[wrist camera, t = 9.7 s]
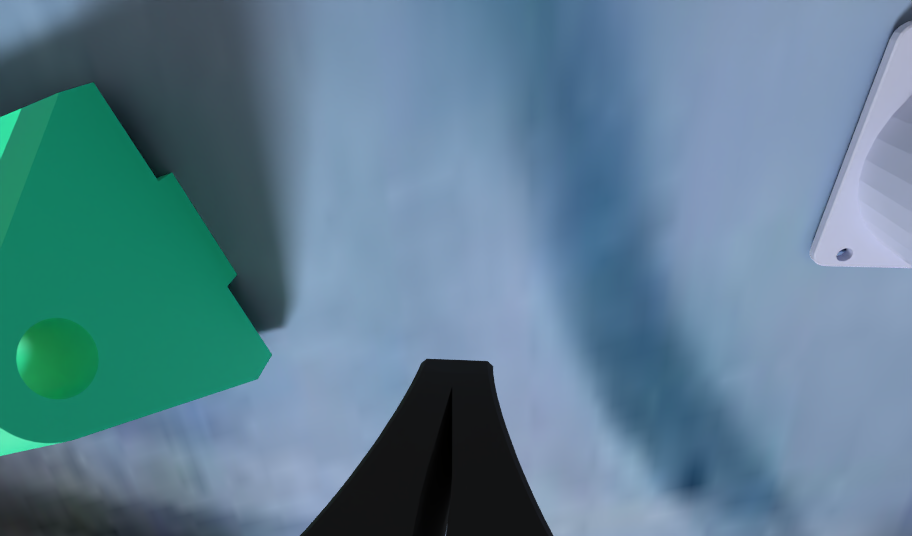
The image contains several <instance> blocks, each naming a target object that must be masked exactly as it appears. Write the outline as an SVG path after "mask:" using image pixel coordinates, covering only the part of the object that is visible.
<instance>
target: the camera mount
mask: <svg viewBox="0 0 912 536" xmlns="http://www.w3.org/2000/svg"><path fill="white" fill-rule="evenodd" d="M236 276H237V274H236V272H235V270H234V269H233V267H232V266H231V264H230V263H229V261H228V259H227V258H226V256H225V255H224V253H223V252H222V250H221V248H220V247H219V245H218V244H217V242H216V241H215V239H214V237H213V236H212V234H211V233H210V231H209V230H208V228H207V226H206V225H205V223H204V222H203V220H202V219H201V217H200V215H199V214H198V212H197V211H196V209H195V208H194V206H193V204H192V203H191V201H190V200H189V198H188V197H187V195H186V193H185V192H184V190H183V189H182V187H181V186H180V184H179V182H178V181H177V179H176V178H175V176H174V175H173V173H169V174H166V175H164V176H161V177H158V178H156V177H155V175H154V174H153V172H152V171H151V169H150V168H149V166H148V165H147V163H146V162H145V160H144V159H143V157H142V156H141V154H140V152H139V151H138V149H137V148H136V146H135V145H134V143H133V142H132V140H131V139H130V137H129V136H128V134H127V133H126V131H125V130H124V128H123V127H122V125H121V123H120V122H119V120H118V119H117V117H116V116H115V114H114V113H113V111H112V110H111V108H110V107H109V105H108V104H107V102H106V101H105V99H104V98H103V96H102V94H101V93H100V91H99V90H98V88H97V87H96V85H95V84H94V82H93V83H89V84H86V85H82V86H79V87H76V88H72V89H69V90H65V91H62V92H59V93H56V94H54V95H52V96H49V97H47V98H45V99H42V100H40V101H37V102H35V103H33V104H30V105H28V106H26V107H23V108H21V109H19V110H16V111H14V112H11V113H9V114H7V115H4V116H2V117H0V456H2V455H7V454H11V453H16V452H20V451H25V450H30V449H34V448H39V447H44V446H48V445H53V444H58V443H62V442H67V441H71V440H75V439H78V438H81V437H84V436H87V435H90V434H93V433H96V432H99V431H102V430H105V429H108V428H111V427H114V426H117V425H120V424H123V423H126V422H129V421H132V420H135V419H138V418H141V417H144V416H147V415H150V414H153V413H156V412H159V411H162V410H165V409H168V408H171V407H174V406H178V405H181V404H184V403H187V402H190V401H193V400H196V399H199V398H202V397H205V396H208V395H211V394H214V393H217V392H220V391H223V390H226V389H229V388H232V387H235V386H238V385H241V384H244V383H247V382H250V381H253V380H256V379H258V378H259V376H260V374H261V373H262V371H263V369H264V367H265V366H266V364H267V362H268V361H269V359H270V357H271V356H272V354H271V352H270V351H269V349H268V348H267V346H266V345H265V343H264V342H263V340H262V339H261V337H260V336H259V334H258V333H257V331H256V330H255V328H254V326H253V325H252V323H251V322H250V320H249V319H248V317H247V316H246V314H245V313H244V311H243V310H242V308H241V307H240V305H239V304H238V302H237V301H236V299H235V297H234V296H233V294H232V293H231V291H230V290H229V288H228V287H227V286H228V285H229V284H230V283H231V281H232V280H233V279H234V278H235V277H236Z"/></svg>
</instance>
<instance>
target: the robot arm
mask: <svg viewBox="0 0 912 536" xmlns="http://www.w3.org/2000/svg"><path fill="white" fill-rule="evenodd" d="M842 249H846V251H845V252H844V253H843V254H841V255H838V256H837V254H838V252H839V251H841V250H842ZM809 254H810V257H811V259H813V260H814V261H815V262H816V263H817V264H818V265H822V266H846V267H886V268H912V21H908V22H906V23H904V24H903V25H901V26H900V27H898V28H897V29H896V30H895V31H894V33H893V34H892V36H891V38H890V40H889V43H888V45H887V48H886V50H885V53H884V56H883V58H882V61H881V64H880V66H879V69H878V72H877V74H876V77H875V80H874V82H873V85H872V87H871V90H870V93H869V95H868V98H867V101H866V103H865V106H864V109H863V111H862V114H861V116H860V119H859V122H858V124H857V127H856V130H855V132H854V135H853V138H852V140H851V143H850V145H849V148H848V151H847V153H846V156H845V159H844V161H843V164H842V167H841V169H840V172H839V174H838V177H837V180H836V182H835V185H834V188H833V190H832V193H831V196H830V198H829V201H828V203H827V206H826V209H825V211H824V214H823V217H822V219H821V222H820V225H819V227H818V230H817V232H816V235H815V238H814V240H813V243H812V246H811V248H810V253H809ZM446 528H447V531H446ZM445 534H446V536H553V534H552V532H551V530H550V528H549V527H548V525H547V523H546V521H545V519H544V517H543V515H542V512H541V510H540V508H539V506H538V504H537V502H536V500H535V498H534V496H533V493H532V491H531V489H530V487H529V484H528V482H527V480H526V477H525V475H524V473H523V470H522V468H521V466H520V463H519V461H518V458H517V456H516V453H515V450H514V447H513V445H512V442H511V439H510V436H509V434H508V431H507V428H506V425H505V422H504V419H503V416H502V412H501V408H500V405H499V401H498V397H497V393H496V388H495V383H494V376H493V366H492V365H491V364H490V363H489V362H488V361H469V360H444V359H426V360H425V361H423V362H422V363H421V365H420V367H419V370H418V372H417V374H416V376H415V378H414V380H413V382H412V384H411V385H410V387H409V389H408V391H407V393H406V394H405V396H404V398H403V399H402V401H401V403H400V405H399V406H398V408H397V410H396V411H395V413H394V414H393V416H392V417H391V419H390V420H389V422H388V423H387V425H386V427H385V428H384V430H383V431H382V433H381V434H380V436H379V437H378V439H377V440H376V442H375V443H374V445H373V446H372V447H371V449H370V450H369V451H368V453H367V454H366V456H365V457H364V458H363V460H362V461H361V462H360V464H359V465H358V466H357V468H356V469H355V470H354V472H353V473H352V475H351V476H350V477H349V479H348V480H347V481H346V482H345V484H344V485H343V486H342V487H341V489H340V490H339V491H338V492H337V494H336V495H335V496H334V497H333V498H332V500H331V501H330V502H329V503H328V505H327V506H326V507H325V508H324V509H323V510H322V511H321V513H320V514H319V515H318V516H317V517H316V518H315V520H314V521H313V522H312V523H311V524H310V525H309V526H308V528H307V529H306V530H305V531H304V532H303V533H302V534H301V535H300V536H445Z"/></svg>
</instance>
